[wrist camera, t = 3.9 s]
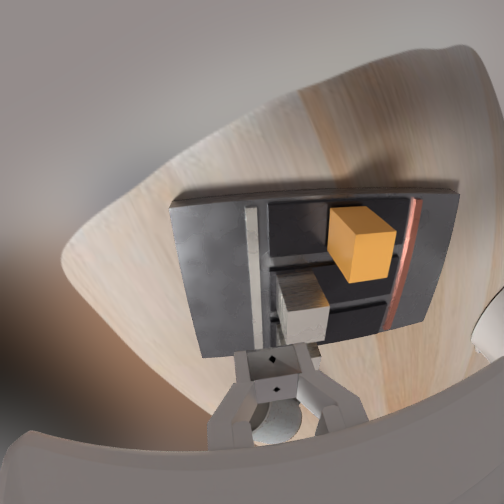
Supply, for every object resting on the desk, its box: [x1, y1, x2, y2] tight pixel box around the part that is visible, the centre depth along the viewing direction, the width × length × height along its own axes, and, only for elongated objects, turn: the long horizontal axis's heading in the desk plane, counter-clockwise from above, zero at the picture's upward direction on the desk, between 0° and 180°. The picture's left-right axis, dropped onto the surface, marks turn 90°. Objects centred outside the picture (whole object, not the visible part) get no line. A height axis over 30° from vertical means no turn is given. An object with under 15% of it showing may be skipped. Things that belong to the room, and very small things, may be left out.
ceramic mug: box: [249, 398, 302, 444], centre depth 30 cm, size 11×8×8 cm
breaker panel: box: [169, 188, 460, 370], centre depth 22 cm, size 26×16×6 cm, turn 93°
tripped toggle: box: [327, 206, 397, 283], centre depth 19 cm, size 3×4×4 cm
